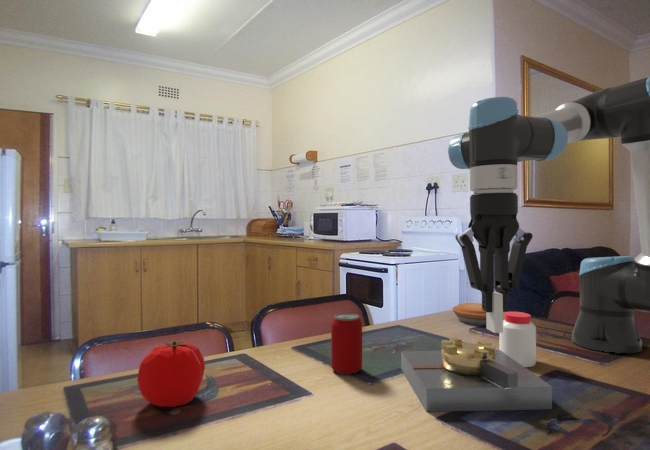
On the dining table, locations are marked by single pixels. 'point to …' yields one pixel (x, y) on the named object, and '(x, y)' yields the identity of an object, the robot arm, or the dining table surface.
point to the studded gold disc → (476, 361)
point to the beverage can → (346, 343)
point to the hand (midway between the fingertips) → (494, 330)
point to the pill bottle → (519, 338)
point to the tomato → (171, 374)
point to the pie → (470, 313)
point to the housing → (472, 386)
